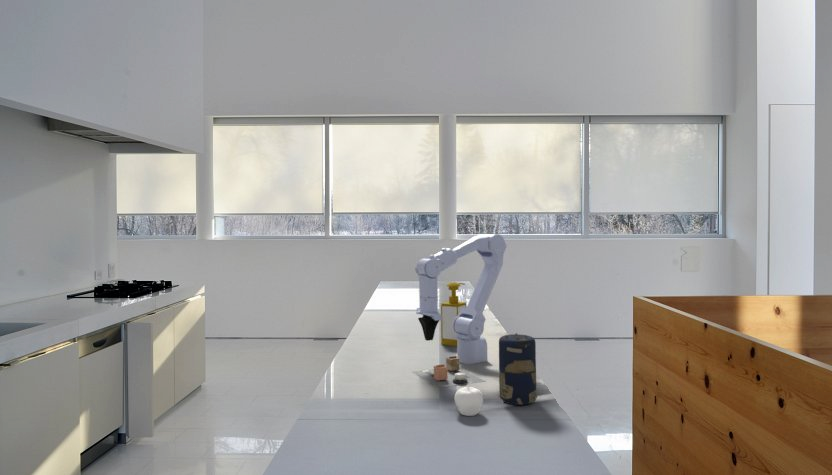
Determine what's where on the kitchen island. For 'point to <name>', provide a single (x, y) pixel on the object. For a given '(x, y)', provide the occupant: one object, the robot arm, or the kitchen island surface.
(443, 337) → the soap bottle
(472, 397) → the plain white apple
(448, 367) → the oak knob
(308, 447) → the kitchen island surface
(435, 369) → the terracotta knob
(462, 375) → the button
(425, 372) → the panel
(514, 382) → the canister
